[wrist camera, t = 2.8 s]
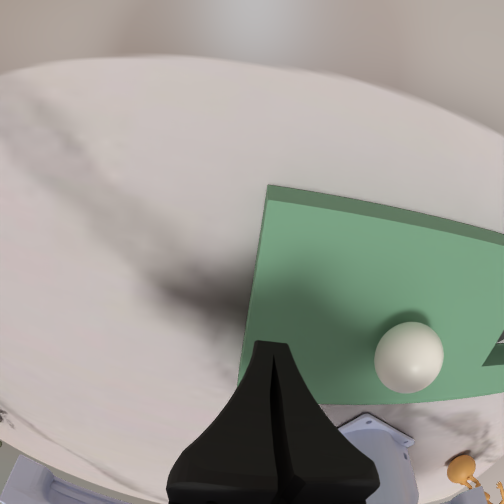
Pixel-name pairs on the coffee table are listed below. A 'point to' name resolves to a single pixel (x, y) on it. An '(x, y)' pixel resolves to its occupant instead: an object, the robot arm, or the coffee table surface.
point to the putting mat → (375, 295)
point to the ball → (408, 357)
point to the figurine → (467, 474)
